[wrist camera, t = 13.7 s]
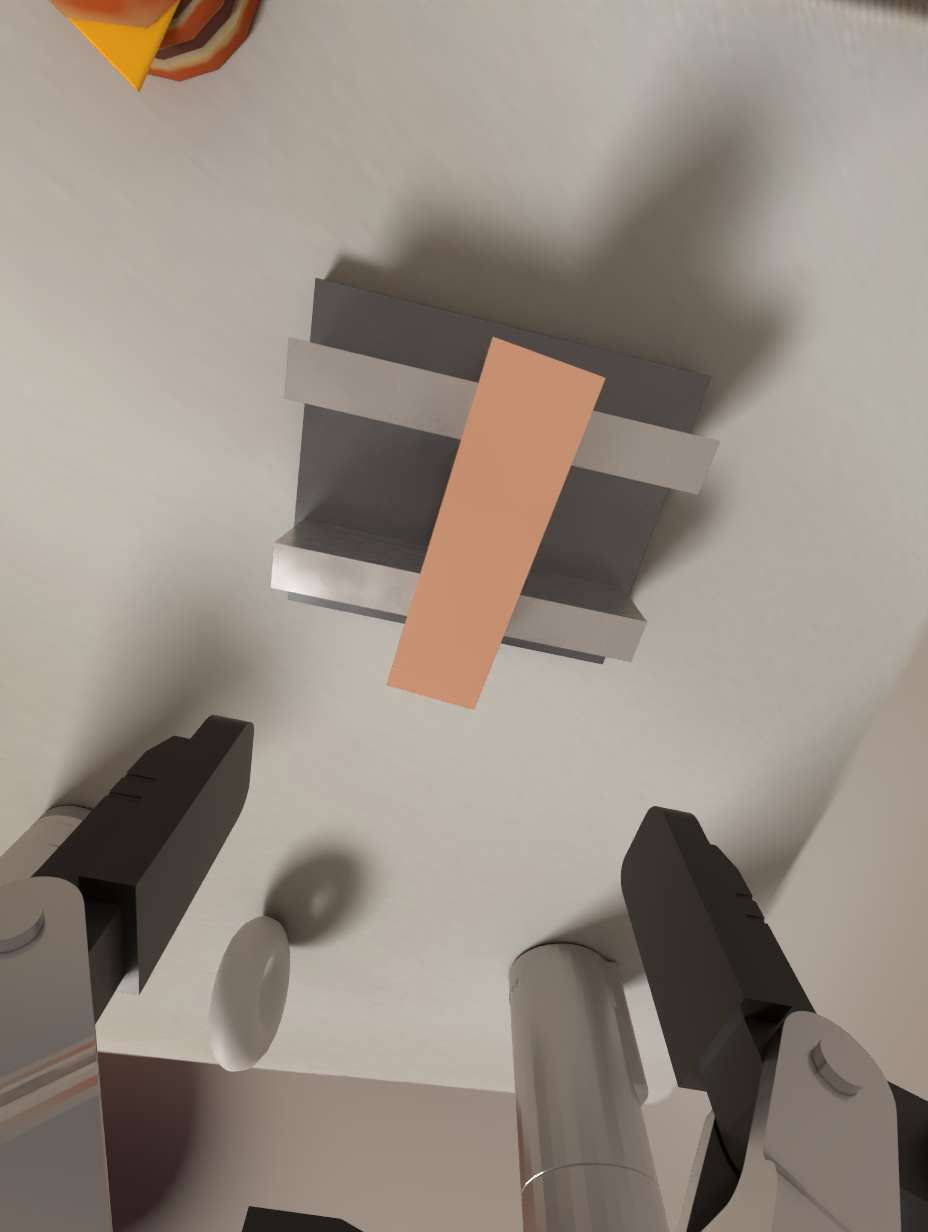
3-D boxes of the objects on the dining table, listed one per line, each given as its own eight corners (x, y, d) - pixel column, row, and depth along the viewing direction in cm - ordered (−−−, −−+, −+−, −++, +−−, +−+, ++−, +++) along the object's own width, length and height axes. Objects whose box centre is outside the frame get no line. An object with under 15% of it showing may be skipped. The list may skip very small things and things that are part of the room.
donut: (303, 964, 48) (263, 1101, 39) (266, 964, 48) (218, 1101, 39) (284, 888, 44) (234, 1021, 35) (244, 889, 44) (183, 1021, 35)
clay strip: (578, 379, 22) (605, 377, 17) (474, 655, 27) (474, 709, 23) (489, 346, 22) (492, 336, 17) (401, 634, 27) (386, 685, 22)
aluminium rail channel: (701, 377, 27) (758, 375, 22) (598, 655, 34) (622, 707, 29) (322, 282, 26) (281, 255, 20) (294, 592, 33) (257, 634, 27)
